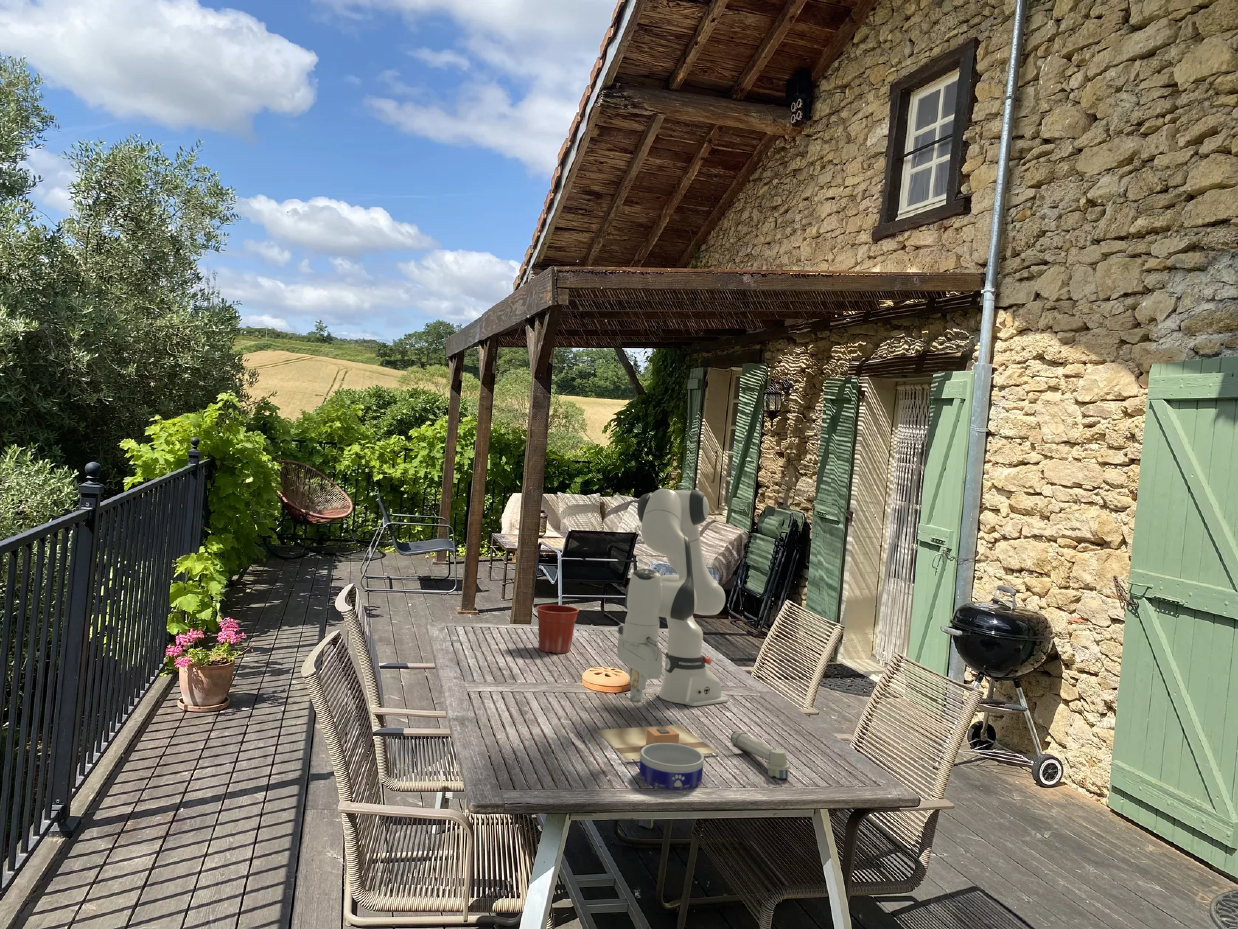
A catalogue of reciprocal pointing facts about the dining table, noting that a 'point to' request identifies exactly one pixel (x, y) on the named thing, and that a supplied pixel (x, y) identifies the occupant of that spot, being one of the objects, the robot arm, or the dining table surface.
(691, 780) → the dog bowl
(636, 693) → the amber glass vial
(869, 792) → the dining table surface
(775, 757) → the angle head flashlight
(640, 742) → the panel
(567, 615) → the flower pot
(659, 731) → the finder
